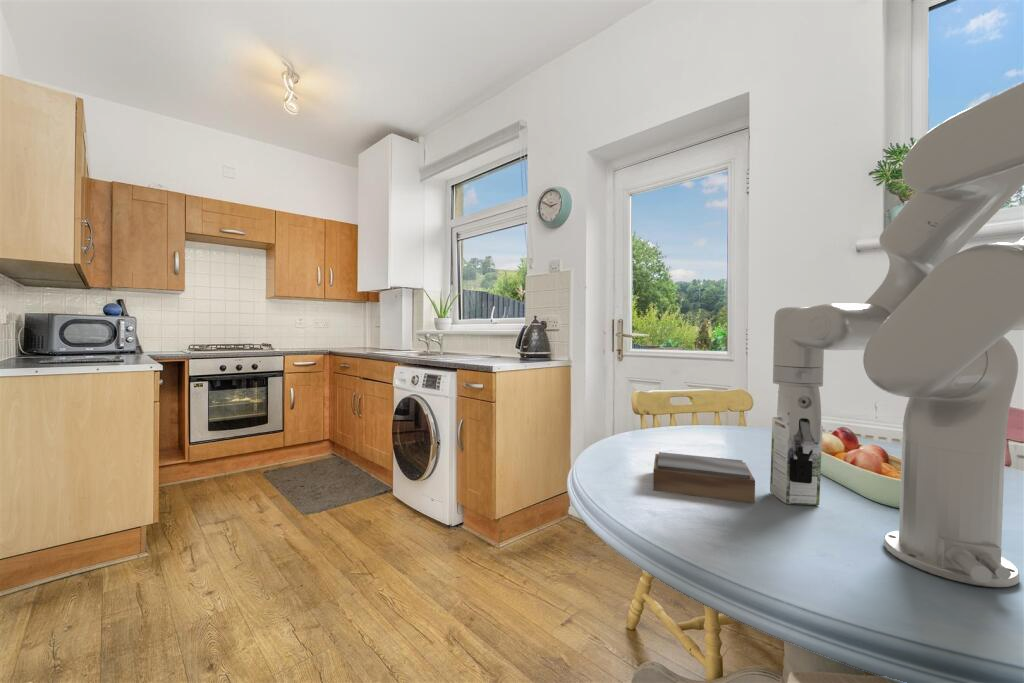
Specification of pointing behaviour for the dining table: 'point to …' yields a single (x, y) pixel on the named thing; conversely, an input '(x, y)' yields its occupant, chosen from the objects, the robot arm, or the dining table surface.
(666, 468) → the block
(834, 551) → the dining table surface
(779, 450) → the syrup box
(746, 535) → the dining table surface
